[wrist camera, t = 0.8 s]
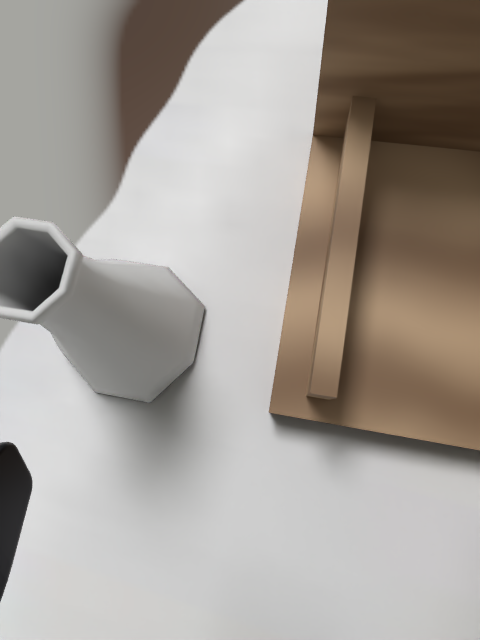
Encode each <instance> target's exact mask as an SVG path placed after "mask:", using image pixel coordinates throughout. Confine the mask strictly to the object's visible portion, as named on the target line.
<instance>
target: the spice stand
mask: <svg viewBox="0 0 480 640" xmlns="http://www.w3.org/2000/svg"><path fill="white" fill-rule="evenodd" d="M269 413H274V414H279V415H285V416H291V417H296V418H302V419H307V420H313V421H318V422H324V423H330V424H335V425H341V426H346V427H352V428H358V429H363V430H369V431H374V432H380V433H385V434H391V435H397V436H402V437H408V438H413V439H419V440H425V441H430V442H436V443H441V444H447V445H452V446H458V447H464V448H469V449H475V450H480V0H328V7H327V16H326V25H325V33H324V42H323V51H322V60H321V69H320V78H319V87H318V95H317V104H316V113H315V122H314V131H313V138H312V145H311V151H310V157H309V163H308V170H307V176H306V182H305V188H304V195H303V201H302V207H301V213H300V220H299V226H298V232H297V239H296V245H295V251H294V257H293V264H292V270H291V276H290V282H289V289H288V295H287V301H286V308H285V314H284V320H283V326H282V333H281V339H280V345H279V351H278V358H277V364H276V370H275V376H274V383H273V389H272V395H271V402H270V408H269Z"/></svg>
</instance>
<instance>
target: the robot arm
mask: <svg viewBox="0 0 480 640" xmlns="http://www.w3.org/2000/svg"><path fill="white" fill-rule="evenodd" d="M31 492H32V477H31V474H30V472H29V470H28V468H27V466H26V464H25V462H24V460H23V458H22V457H21V455H20V453H19V451H18V449H17V447H16V446H15V445H14V444H13V443H10V442H2V443H0V601H1V598H2V596H3V593H4V590H5V587H6V584H7V581H8V578H9V574H10V571H11V567H12V564H13V560H14V556H15V552H16V549H17V545H18V541H19V537H20V533H21V530H22V526H23V522H24V518H25V514H26V511H27V507H28V503H29V499H30V495H31Z"/></svg>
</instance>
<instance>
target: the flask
mask: <svg viewBox="0 0 480 640" xmlns="http://www.w3.org/2000/svg"><path fill="white" fill-rule="evenodd" d="M204 309H205V306H204V305H203V304H202V303H201V301H200V300H199V299H198V298H197V297H196V296H195V295H194V294H193V293H192V292H191V291H190V290H189V289H188V288H187V287H186V286H185V284H184V283H183V282H182V281H181V280H180V279H179V278H178V277H177V276H176V275H175V274H174V273H173V272H172V271H171V270H170V268H169V267H163V266H156V265H150V264H143V263H136V262H130V261H123V260H117V259H101V260H94V259H91V258H89V257H86V256H83V255H82V253H81V252H80V251H79V250H78V249H77V248H76V246H75V245H74V244H73V243H72V242H71V241H70V240H69V239H68V237H67V236H66V235H65V234H64V233H63V232H62V231H61V230H60V228H59V227H58V226H57V225H56V224H54V223H53V222H49V221H41V220H34V219H28V218H21V217H12V218H11V219H10V220H9V221H7V222H6V223H5V224H4V225H3V226H2V227H0V318H3V319H9V320H15V321H21V322H26V323H32V324H40V325H42V326H43V327H44V328H45V329H47V330H48V331H49V332H51V334H52V336H53V338H54V340H55V342H56V344H57V346H58V347H59V349H60V350H61V352H62V353H63V354H64V355H65V356H66V358H67V359H68V360H69V361H70V363H71V364H72V365H73V366H74V367H75V369H76V370H77V371H78V372H79V374H80V375H81V376H82V377H83V378H84V380H85V381H86V382H87V383H88V385H89V386H90V387H91V388H92V389H93V391H94V392H97V393H102V394H107V395H112V396H117V397H123V398H128V399H133V400H138V401H144V402H149V403H150V402H151V401H152V400H154V399H155V398H156V397H157V396H158V395H159V394H160V393H161V392H162V391H163V390H164V389H165V388H167V387H168V386H169V385H170V384H171V383H172V382H173V381H174V380H175V379H176V378H177V377H178V376H179V375H181V374H182V373H183V372H184V371H185V370H186V369H187V368H188V367H189V366H190V365H191V364H192V363H194V358H195V353H196V348H197V343H198V338H199V333H200V328H201V324H202V319H203V314H204Z"/></svg>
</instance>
